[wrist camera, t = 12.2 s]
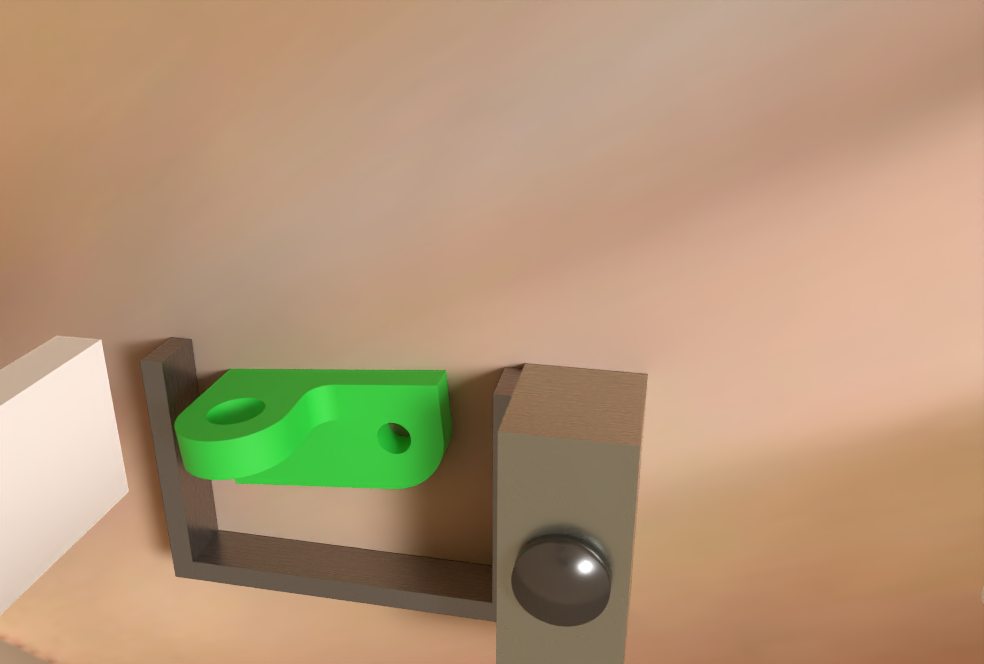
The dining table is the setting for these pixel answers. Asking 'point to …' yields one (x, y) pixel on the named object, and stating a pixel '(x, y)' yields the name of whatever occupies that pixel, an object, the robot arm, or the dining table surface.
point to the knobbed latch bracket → (516, 518)
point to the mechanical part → (318, 427)
